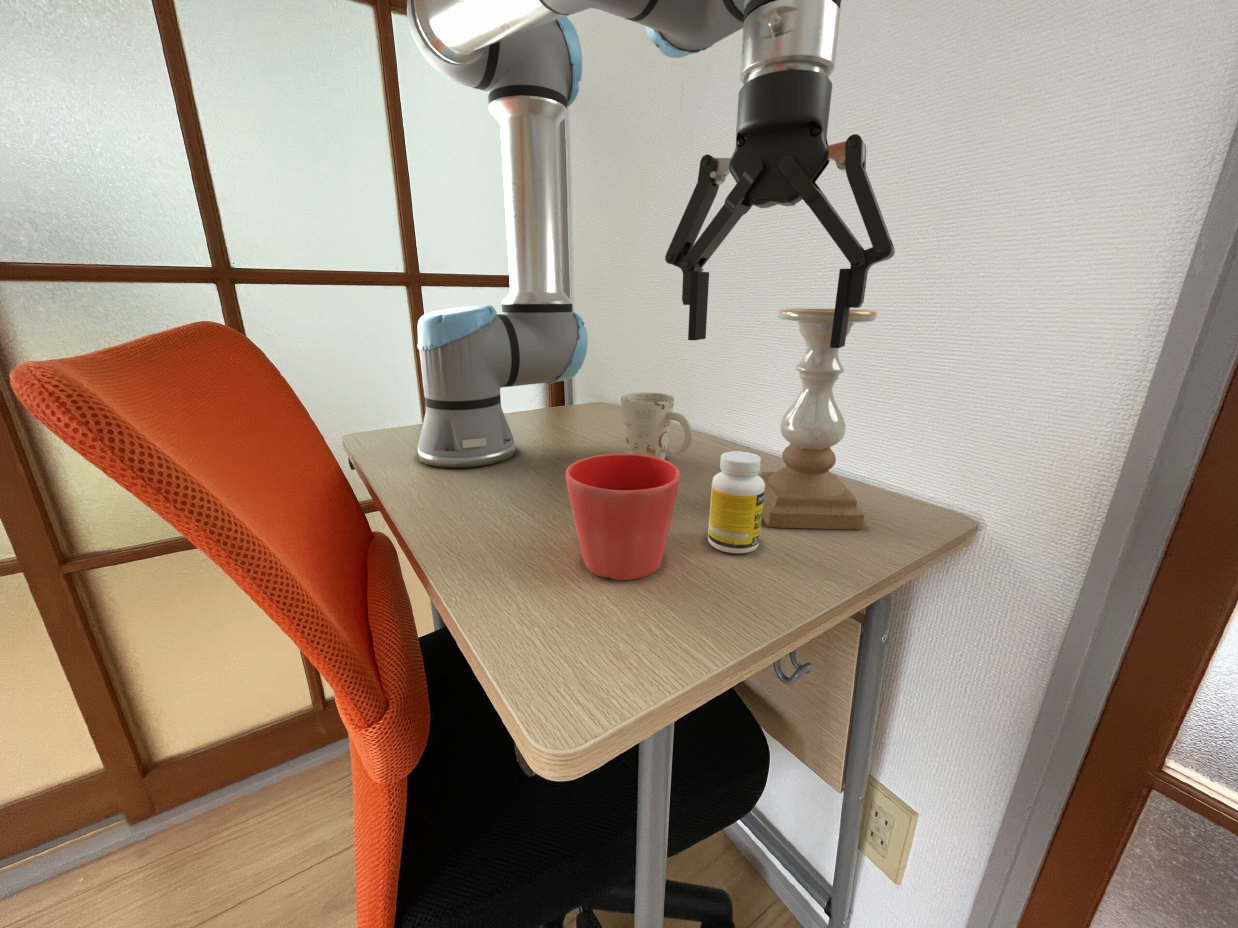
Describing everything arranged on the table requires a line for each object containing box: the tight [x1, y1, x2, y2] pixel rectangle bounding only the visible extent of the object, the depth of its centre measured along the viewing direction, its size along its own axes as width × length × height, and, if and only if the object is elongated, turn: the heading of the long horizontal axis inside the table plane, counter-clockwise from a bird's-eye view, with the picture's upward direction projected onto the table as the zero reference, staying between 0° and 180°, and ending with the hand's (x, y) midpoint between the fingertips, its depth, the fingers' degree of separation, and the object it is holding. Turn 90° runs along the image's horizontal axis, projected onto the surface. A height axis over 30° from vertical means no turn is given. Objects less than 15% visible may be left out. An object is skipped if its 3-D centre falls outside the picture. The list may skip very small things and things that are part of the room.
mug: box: [620, 392, 694, 460], centre depth 83 cm, size 8×13×10 cm, turn 54°
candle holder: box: [758, 308, 878, 530], centre depth 62 cm, size 11×11×24 cm
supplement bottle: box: [707, 450, 765, 554], centre depth 55 cm, size 5×5×10 cm
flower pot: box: [565, 453, 681, 581], centre depth 51 cm, size 11×11×10 cm
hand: (762, 343), depth 50 cm, fingers open, 13 cm apart
